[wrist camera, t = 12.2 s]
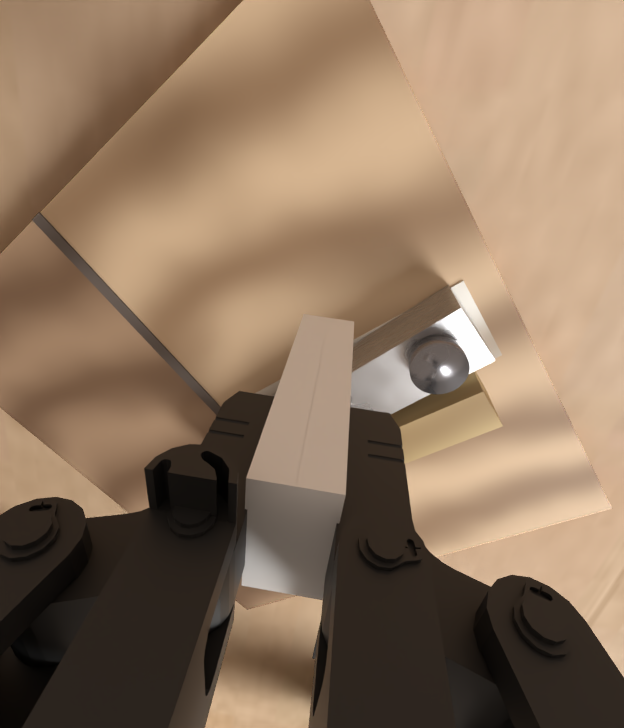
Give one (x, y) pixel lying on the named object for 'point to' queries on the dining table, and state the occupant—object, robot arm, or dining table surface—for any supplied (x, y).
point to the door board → (276, 277)
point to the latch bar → (417, 355)
